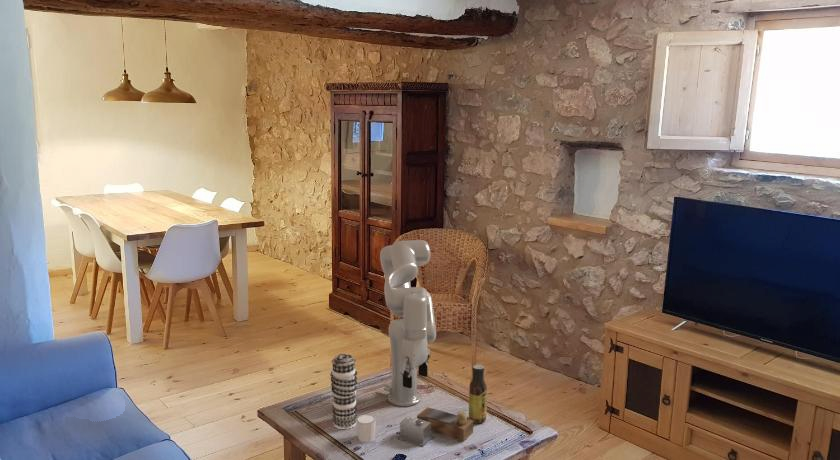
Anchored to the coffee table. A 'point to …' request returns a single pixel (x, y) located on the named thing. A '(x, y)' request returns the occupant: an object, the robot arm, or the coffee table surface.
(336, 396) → the model tower building
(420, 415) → the hand plane
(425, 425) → the grey box with knob
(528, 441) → the coffee table surface
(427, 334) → the robot arm
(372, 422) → the white cylinder
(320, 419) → the coffee table surface
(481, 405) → the sauce bottle
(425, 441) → the rubber mat
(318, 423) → the coffee table surface
